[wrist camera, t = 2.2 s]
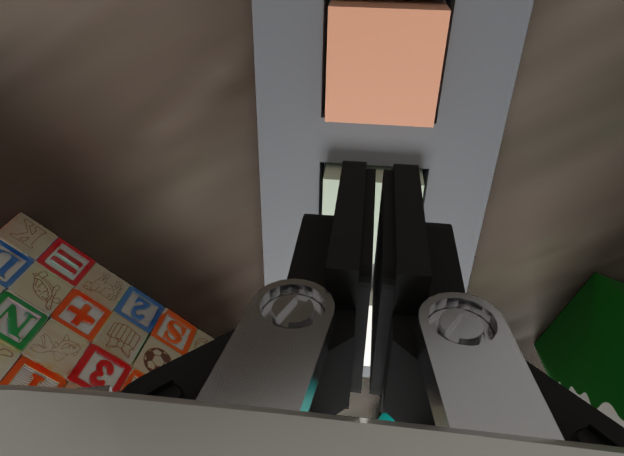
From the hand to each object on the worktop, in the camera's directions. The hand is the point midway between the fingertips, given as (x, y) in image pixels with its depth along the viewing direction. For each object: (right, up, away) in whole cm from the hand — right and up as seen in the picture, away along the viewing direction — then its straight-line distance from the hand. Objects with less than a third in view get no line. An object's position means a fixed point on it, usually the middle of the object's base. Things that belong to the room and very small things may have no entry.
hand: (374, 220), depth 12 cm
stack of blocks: (-16, -7, +28) cm, 33 cm away
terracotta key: (+2, +8, +13) cm, 16 cm away
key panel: (+2, +3, +19) cm, 20 cm away
